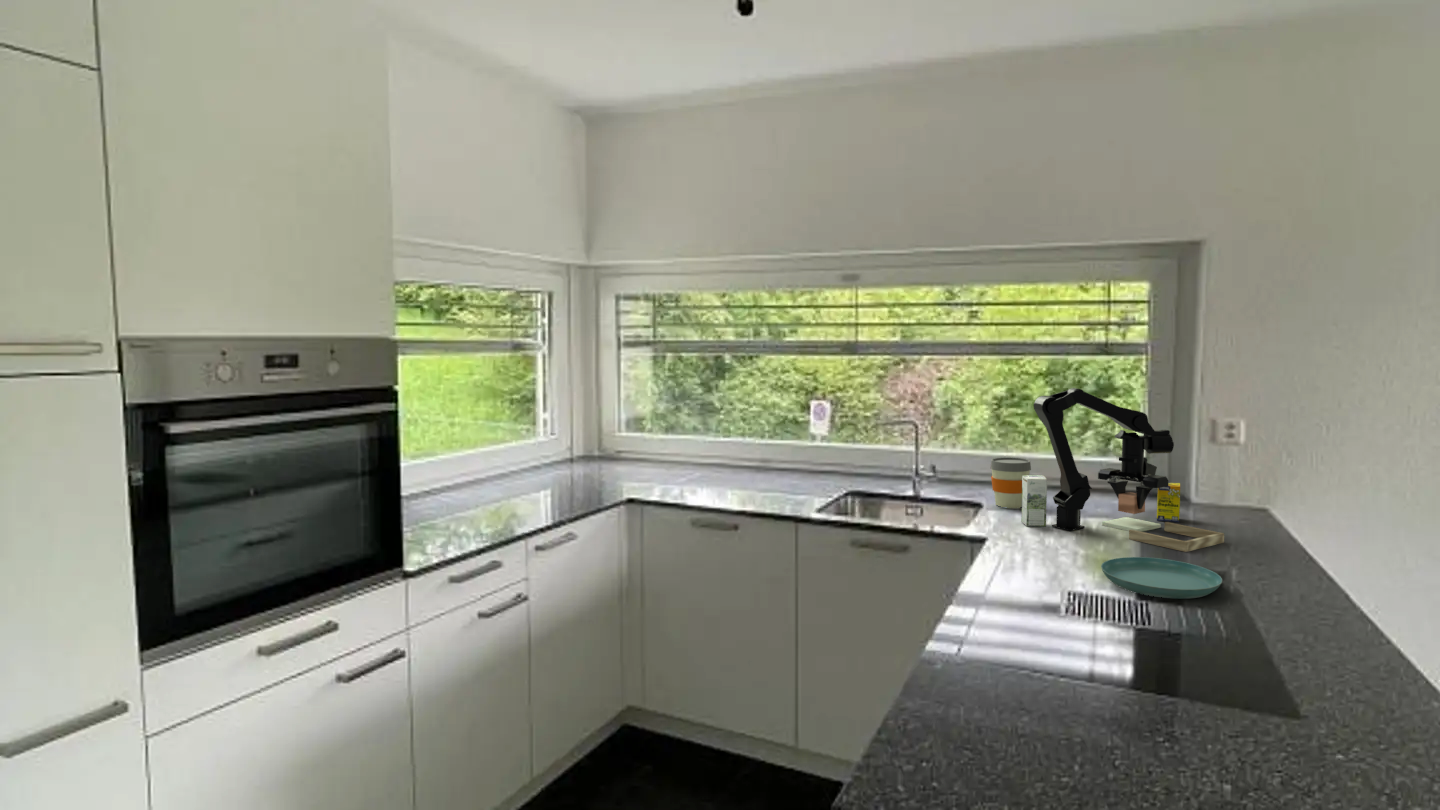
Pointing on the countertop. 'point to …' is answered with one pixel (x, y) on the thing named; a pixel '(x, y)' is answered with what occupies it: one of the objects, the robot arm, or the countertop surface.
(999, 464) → the reusable coffee cup
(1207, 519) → the countertop surface
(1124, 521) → the pad
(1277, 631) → the countertop surface
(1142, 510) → the terracotta cube
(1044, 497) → the syrup box
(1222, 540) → the open wooden frame
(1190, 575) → the teal plate
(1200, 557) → the countertop surface
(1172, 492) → the supplement box
